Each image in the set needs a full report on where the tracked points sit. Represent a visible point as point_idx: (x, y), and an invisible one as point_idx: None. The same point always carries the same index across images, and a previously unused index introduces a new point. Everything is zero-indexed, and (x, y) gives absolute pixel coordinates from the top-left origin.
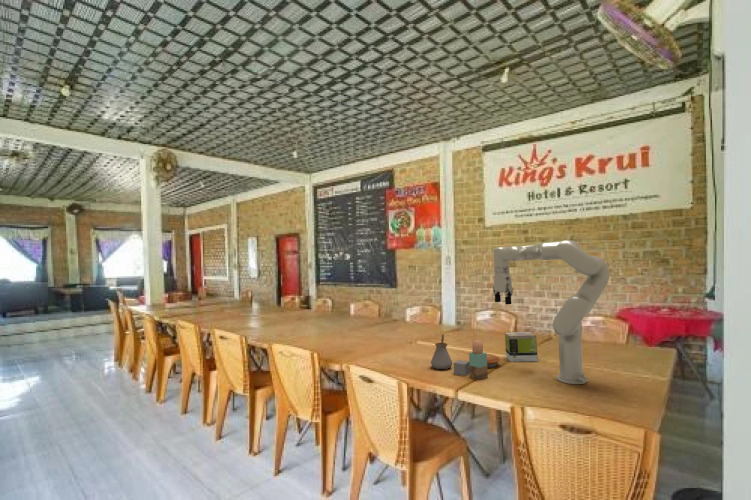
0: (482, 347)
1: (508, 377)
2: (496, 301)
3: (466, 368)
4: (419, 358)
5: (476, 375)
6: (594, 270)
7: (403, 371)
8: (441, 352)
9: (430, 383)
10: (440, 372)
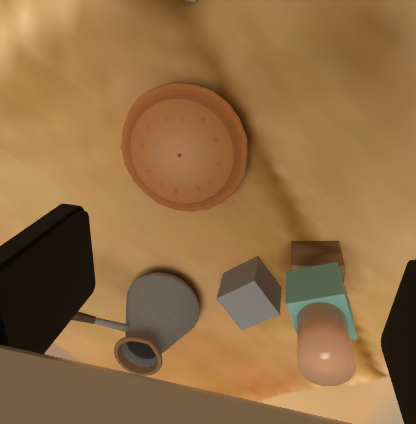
0: (347, 333)
1: (376, 171)
2: (89, 284)
3: (272, 292)
4: None
5: None
6: None
7: None
8: (169, 346)
9: (287, 388)
10: (209, 321)
